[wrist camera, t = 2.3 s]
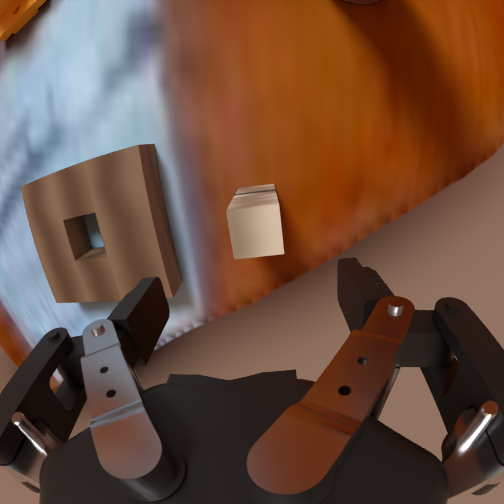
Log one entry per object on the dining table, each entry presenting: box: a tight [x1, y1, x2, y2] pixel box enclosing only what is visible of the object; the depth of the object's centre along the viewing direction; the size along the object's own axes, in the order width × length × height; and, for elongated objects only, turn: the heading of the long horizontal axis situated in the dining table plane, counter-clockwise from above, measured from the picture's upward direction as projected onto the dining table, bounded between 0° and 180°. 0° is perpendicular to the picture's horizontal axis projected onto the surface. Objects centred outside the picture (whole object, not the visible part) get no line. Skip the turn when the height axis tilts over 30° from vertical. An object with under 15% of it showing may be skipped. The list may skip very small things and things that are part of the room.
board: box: [21, 144, 182, 303], centre depth 29 cm, size 18×16×4 cm
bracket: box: [0, 0, 46, 41], centre depth 12 cm, size 11×7×12 cm, turn 110°
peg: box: [226, 184, 284, 259], centre depth 24 cm, size 4×4×10 cm
